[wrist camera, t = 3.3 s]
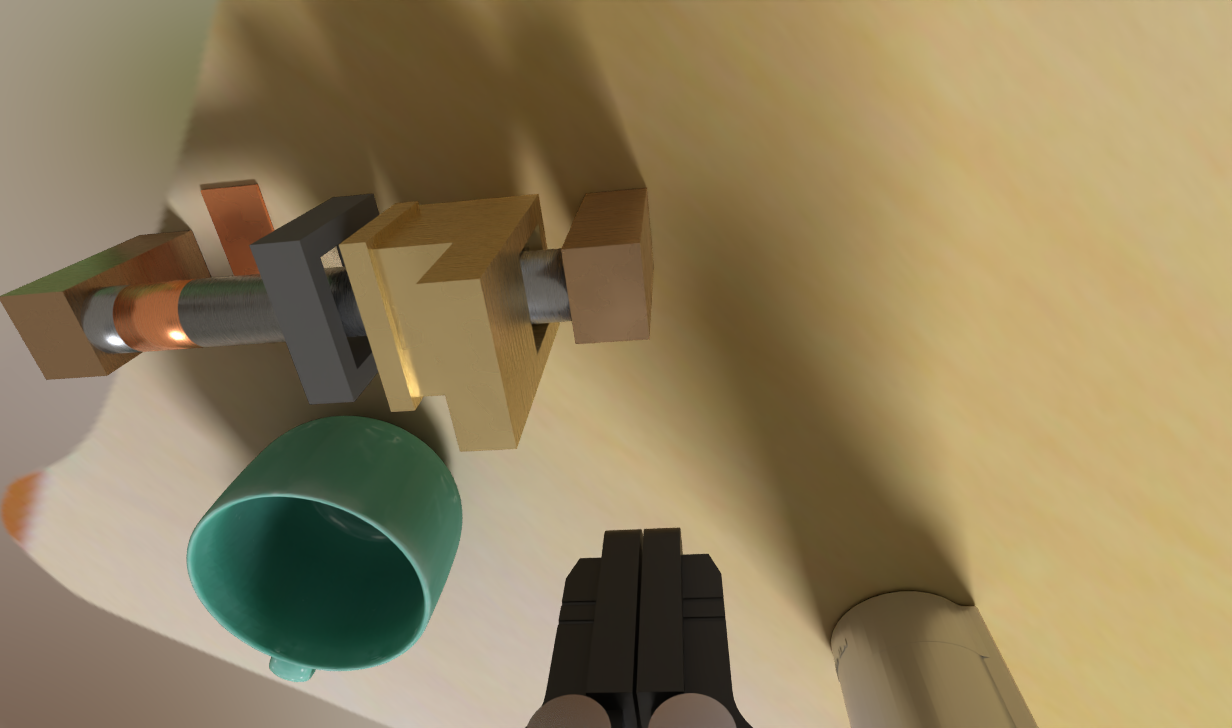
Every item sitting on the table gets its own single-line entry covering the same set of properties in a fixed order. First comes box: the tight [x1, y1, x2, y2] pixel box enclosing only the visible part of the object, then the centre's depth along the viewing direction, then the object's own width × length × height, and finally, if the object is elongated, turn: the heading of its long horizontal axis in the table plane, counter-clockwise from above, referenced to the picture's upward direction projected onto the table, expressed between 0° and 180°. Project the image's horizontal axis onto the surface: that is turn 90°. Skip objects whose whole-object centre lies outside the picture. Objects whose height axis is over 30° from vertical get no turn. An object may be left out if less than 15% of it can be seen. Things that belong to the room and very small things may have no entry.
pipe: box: [0, 184, 654, 380], centre depth 31 cm, size 27×8×8 cm, turn 96°
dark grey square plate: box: [249, 194, 379, 404], centre depth 30 cm, size 2×7×7 cm, turn 6°
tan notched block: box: [339, 194, 560, 452], centre depth 26 cm, size 6×7×10 cm
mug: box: [187, 416, 462, 682], centre depth 39 cm, size 17×13×10 cm
